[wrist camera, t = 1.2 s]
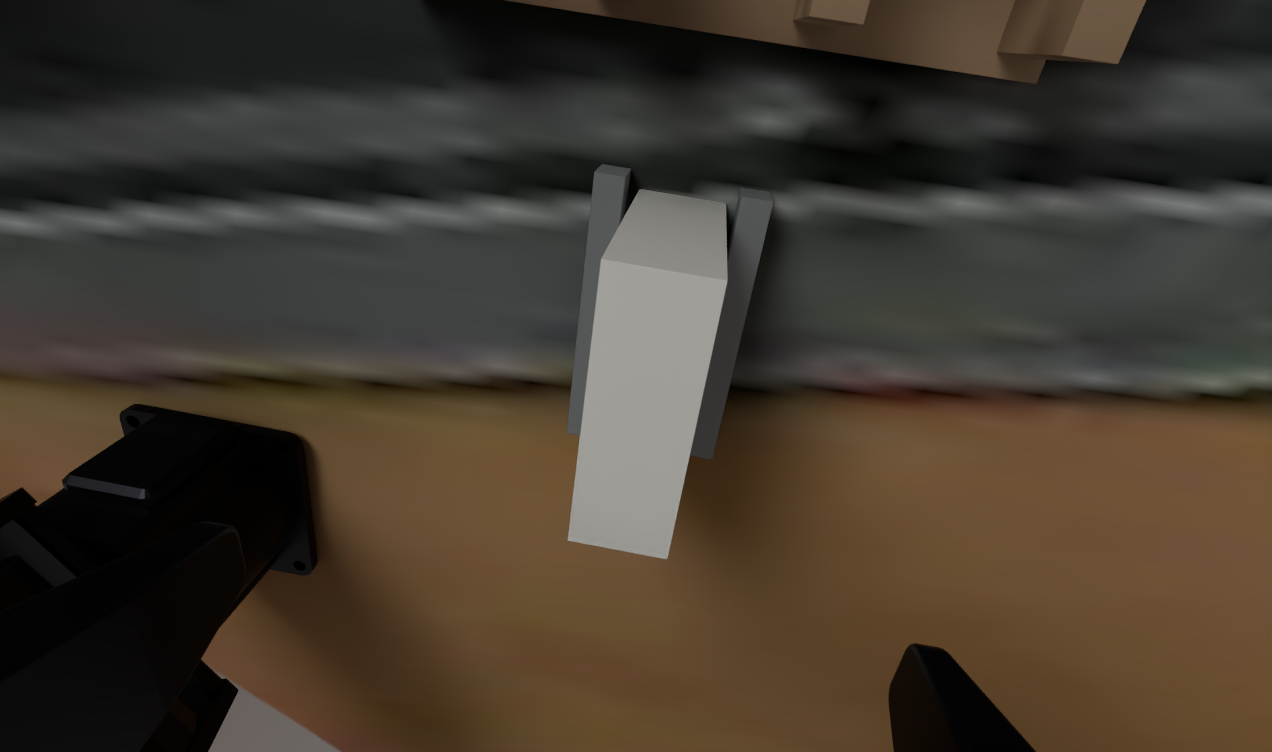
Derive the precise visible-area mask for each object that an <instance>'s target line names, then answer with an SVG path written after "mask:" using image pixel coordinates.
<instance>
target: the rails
mask: <svg viewBox="0 0 1272 752" xmlns="http://www.w3.org/2000/svg"><path fill="white" fill-rule="evenodd" d="M630 173H631V169H629V168H623V167H617V166H611V165H605V164H602V165H601V166H600V167H599V168H598V169H597V170H596V171H595V172H594V181H593V191H592V200H591V209H590V219H589V228H588V238H587V247H586V256H585V266H584V275H583V285H582V294H581V303H580V313H579V322H578V332H577V341H576V350H575V360H574V369H573V379H572V388H571V397H570V407H569V416H568V426H567V433H570V434H575V435H580V433H581V424H582V416H583V407H584V399H585V390H586V382H587V374H588V365H589V357H590V348H591V340H592V331H593V323H594V314H595V306H596V297H597V289H598V280H599V272H600V264H601V258H602V256H603V254H604V253H605V251H606V249H607V247H608V245H609V244H610V242H611V240H612V238H613V236H614V234H615V233H616V231H617V229H618V227H619V225H620V224H621V222H622V220H623V218H624V216H625V211H626V204H627V196H628V189H629V181H630ZM772 205H773V199H772V196H771V193H770V192H767V191H761V190H755V189H749V188H743V187H741V188H740V193H739V198H738V203H737V207H736V212H735V217H734V221H733V226H732V231H731V236H730V240H729V245H728V250H727V277H728V281H727V286H726V290H725V295H724V300H723V304H722V309H721V313H720V318H719V323H718V327H717V332H716V336H715V341H714V346H713V350H712V355H711V360H710V364H709V369H708V373H707V378H706V383H705V387H704V392H703V396H702V401H701V406H700V410H699V415H698V420H697V424H696V429H695V433H694V438H693V443H692V447H691V452H690V456H695V457H701V458H706V459H712V458H713V454H714V450H715V446H716V442H717V437H718V433H719V429H720V425H721V421H722V416H723V412H724V408H725V404H726V399H727V395H728V391H729V387H730V383H731V378H732V374H733V370H734V366H735V361H736V357H737V353H738V349H739V345H740V340H741V336H742V332H743V328H744V323H745V319H746V315H747V311H748V307H749V302H750V298H751V294H752V290H753V286H754V281H755V277H756V273H757V269H758V264H759V260H760V256H761V252H762V248H763V243H764V239H765V235H766V231H767V226H768V222H769V218H770V214H771V210H772Z"/></svg>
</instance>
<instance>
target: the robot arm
mask: <svg viewBox="0 0 1272 752" xmlns="http://www.w3.org/2000/svg"><path fill="white" fill-rule="evenodd" d="M120 422H121V425H122V429H123V433H124V437H123V438H121V439H120V440H118V441H117V442H115V443H114V444H112V445H111V446H109V447H108V448H106V449H105V450H103V451H102V452H100V453H99V454H97V455H96V456H94V457H93V458H91V459H90V460H88V461H87V462H85V463H84V464H82V465H81V466H79V467H78V468H76V469H75V470H73V471H72V472H70V473H69V474H68V475H67V476H66V477H65V478H64V479H63V480H62V483H63V486H64V488H63V489H62V490H61V491H59V492H58V493H56V494H55V495H53V496H52V497H50V498H49V499H47V500H46V501H44V502H43V503H41V504H40V505H39V506H36V505H35V503H36V502H37V501H36V500H35V499H34V498H33V497H32V496H31V495H30V494H29V493H28V492H27V491H26V490H24V489H23V488H20V489H18V490H16V491H14V492H12V493H10V494H8V495H7V496H5V497H3V498H1V499H0V752H208V750H209V749H210V747H211V745H212V743H213V740H214V739H215V737H216V735H217V733H218V731H219V729H220V727H221V725H222V723H223V721H224V719H225V717H226V715H227V713H228V710H229V708H230V707H231V705H232V703H233V701H234V699H235V696H236V695H237V693H238V689H237V688H236V687H235V686H234V685H233V684H232V683H231V682H230V681H229V680H228V679H221V678H220V677H219V676H218V675H217V674H216V673H215V672H214V671H213V670H212V669H211V668H210V667H208V666H207V665H206V664H205V663H204V662H203V661H202V660H201V658H202V656H203V655H204V653H205V651H206V649H207V648H208V646H209V644H210V643H211V641H212V639H213V637H214V636H215V634H216V632H217V631H218V629H219V628H220V627H221V625H222V624H223V623H224V622H225V621H226V620H227V618H228V617H229V616H230V615H231V614H232V613H233V611H234V610H235V609H236V608H237V607H238V605H239V604H240V603H241V602H242V601H243V600H244V598H245V597H246V596H247V595H248V594H249V593H250V591H251V590H252V589H253V588H254V587H255V586H256V584H257V583H258V582H259V581H260V580H261V579H262V577H263V576H264V575H265V574H266V573H267V572H268V570H269V569H272V570H277V571H282V572H287V573H292V574H297V575H308V574H310V573H311V572H312V570H313V569H314V568H315V566H316V565H317V552H316V544H315V536H314V528H313V519H312V511H311V503H310V495H309V486H308V478H307V470H306V462H305V454H304V446H303V443H302V441H301V440H300V438H299V437H298V436H296V435H295V434H293V433H290V432H286V431H281V430H275V429H270V428H265V427H259V426H254V425H249V424H243V423H238V422H233V421H227V420H222V419H217V418H211V417H206V416H200V415H195V414H190V413H184V412H179V411H174V410H168V409H163V408H158V407H152V406H147V405H142V404H133V405H131V406H129V407H128V408H126V409H125V410H123V411H121V413H120ZM284 445H286V446H288V447H289V449H288V448H286V447H285V446H284ZM889 711H890V721H891V730H892V739H893V749H894V752H1036V751H1035V750H1034V749H1033V748H1032V747H1031V745H1030V744H1029V743H1028V742H1027V741H1026V740H1025V739H1024V738H1023V736H1022V735H1021V734H1020V733H1019V732H1018V731H1017V730H1016V729H1015V727H1014V726H1013V725H1012V724H1011V723H1010V722H1009V721H1008V719H1007V718H1006V717H1005V716H1004V715H1003V714H1002V713H1001V712H1000V710H999V709H998V708H997V707H996V706H995V705H994V704H993V703H992V701H991V700H990V699H989V698H988V697H987V696H986V695H985V694H984V692H983V691H982V690H981V689H980V688H979V687H978V686H977V685H976V683H975V682H974V681H973V680H972V679H971V678H970V677H969V676H968V674H967V673H966V672H965V671H964V670H963V669H962V668H961V667H960V665H959V664H958V663H957V662H956V661H955V660H954V659H953V657H952V656H951V655H950V654H949V653H948V652H946V651H945V650H944V649H942V648H939V647H934V646H928V645H922V644H916V643H915V644H911V645H909V646H908V647H907V649H906V650H905V653H904V655H903V657H902V659H901V662H900V664H899V666H898V668H897V670H896V673H895V675H894V677H893V679H892V682H891V684H890V689H889Z"/></svg>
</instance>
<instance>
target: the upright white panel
mask: <svg viewBox="0 0 1272 752" xmlns="http://www.w3.org/2000/svg"><path fill="white" fill-rule="evenodd" d="M727 281H728V277H727V229H726V203H721V202H715V201H709V200H703V199H697V198H691V197H685V196H679V195H673V194H667V193H661V192H655V191H649V190H643V189H639V191H638V193H637V195H636V196H635V198H634V200H633V202H632V204H631V205H630V207H629V209H628V211H627V213H626V215H625V216H624V218H623V220H622V222H621V224H620V225H619V227H618V229H617V231H616V233H615V234H614V236H613V238H612V240H611V242H610V244H609V245H608V247H607V249H606V251H605V253H604V254H603V256H602V258H601V264H600V272H599V280H598V289H597V297H596V306H595V314H594V323H593V331H592V340H591V348H590V357H589V365H588V374H587V382H586V390H585V399H584V407H583V416H582V424H581V433H580V441H579V450H578V458H577V467H576V475H575V483H574V492H573V500H572V509H571V517H570V526H569V534H568V541H573V542H579V543H584V544H589V545H594V546H600V547H605V548H610V549H615V550H621V551H626V552H631V553H636V554H642V555H647V556H652V557H657V558H663V559H667V558H668V553H669V549H670V544H671V540H672V535H673V530H674V526H675V521H676V517H677V512H678V507H679V503H680V498H681V493H682V489H683V484H684V480H685V475H686V470H687V466H688V461H689V457H690V452H691V447H692V443H693V438H694V433H695V429H696V424H697V420H698V415H699V410H700V406H701V401H702V396H703V392H704V387H705V383H706V378H707V373H708V369H709V364H710V360H711V355H712V350H713V346H714V341H715V336H716V332H717V327H718V323H719V318H720V313H721V309H722V304H723V300H724V295H725V290H726V286H727Z"/></svg>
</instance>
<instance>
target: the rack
mask: <svg viewBox="0 0 1272 752" xmlns="http://www.w3.org/2000/svg"><path fill="white" fill-rule="evenodd" d="M505 1H512V2H518V3H524V4H531V5H537V6H543V7H550V8H556V9H562V10H569V11H575V12H581V13H588V14H594V15H600V16H606V17H613V18H619V19H625V20H632V21H638V22H644V23H651V24H657V25H663V26H670V27H676V28H682V29H689V30H695V31H701V32H708V33H714V34H720V35H727V36H733V37H739V38H746V39H752V40H758V41H765V42H771V43H777V44H784V45H790V46H796V47H803V48H809V49H815V50H822V51H828V52H834V53H841V54H847V55H853V56H860V57H866V58H872V59H879V60H885V61H891V62H898V63H904V64H910V65H917V66H923V67H929V68H936V69H942V70H948V71H955V72H961V73H967V74H973V75H980V76H986V77H992V78H999V79H1005V80H1011V81H1018V82H1025V83H1032V84H1037V82H1038V79H1039V76H1040V74H1041V71H1042V69H1043V66H1044V64H1045V61H1046V60H1060V61H1076V62H1091V63H1107V64H1118V63H1119V61H1120V58H1121V56H1122V54H1123V52H1124V49H1125V47H1126V45H1127V43H1128V40H1129V38H1130V36H1131V34H1132V31H1133V29H1134V27H1135V24H1136V22H1137V20H1138V18H1139V15H1140V13H1141V11H1142V9H1143V6H1144V4H1145V2H1146V0H505Z"/></svg>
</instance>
